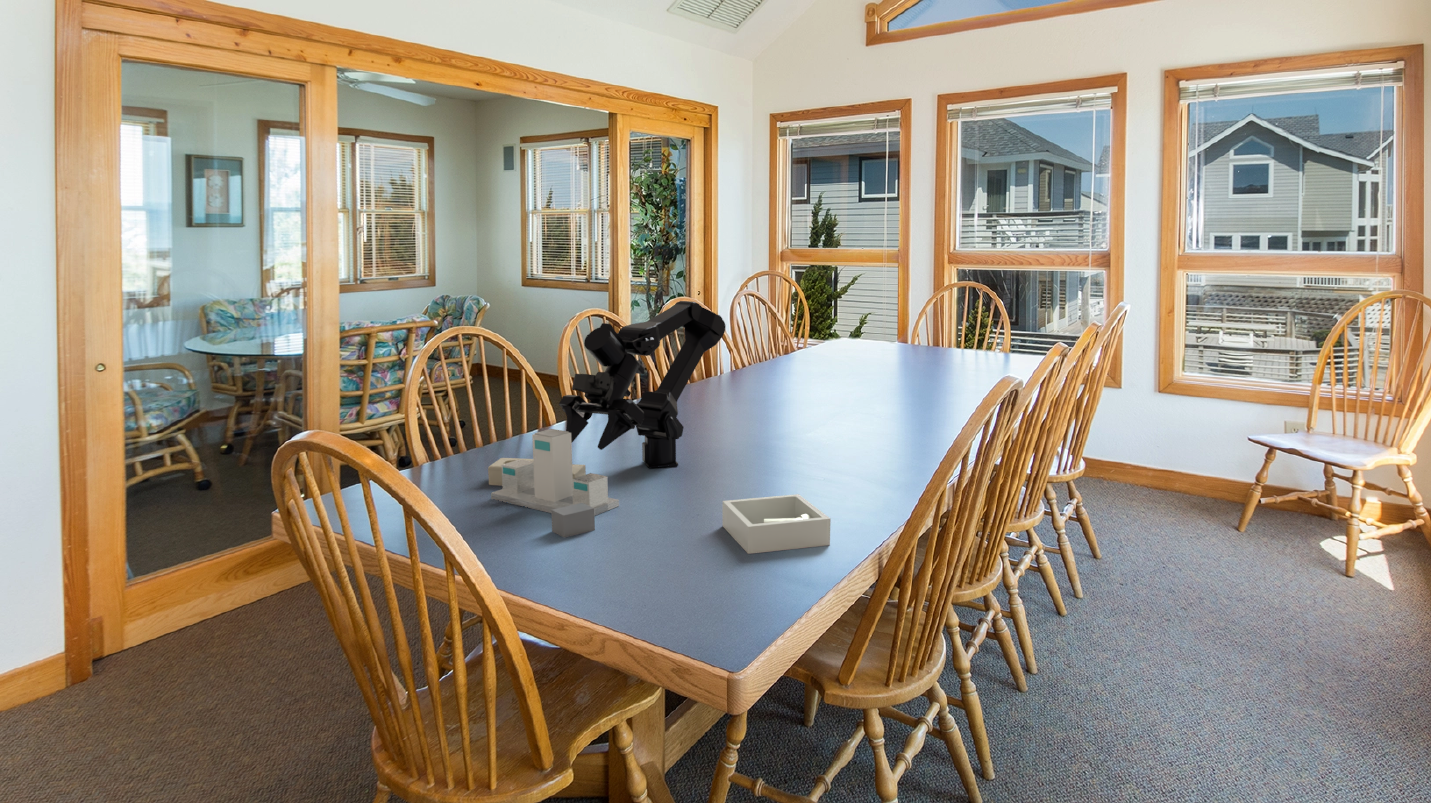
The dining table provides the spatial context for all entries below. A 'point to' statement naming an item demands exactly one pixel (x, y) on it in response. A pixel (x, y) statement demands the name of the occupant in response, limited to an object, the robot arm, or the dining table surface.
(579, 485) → the rail plate
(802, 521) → the parts tray
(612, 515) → the dining table surface
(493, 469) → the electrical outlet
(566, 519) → the grey rectangular block
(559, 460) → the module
